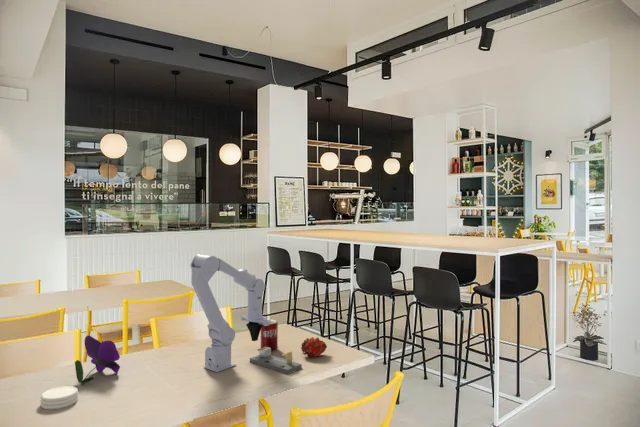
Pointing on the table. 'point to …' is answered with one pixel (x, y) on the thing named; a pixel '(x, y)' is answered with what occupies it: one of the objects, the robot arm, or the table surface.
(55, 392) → the coaster
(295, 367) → the cube slider plate
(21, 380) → the table surface
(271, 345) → the soda can
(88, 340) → the flower
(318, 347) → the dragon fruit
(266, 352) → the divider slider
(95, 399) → the table surface
